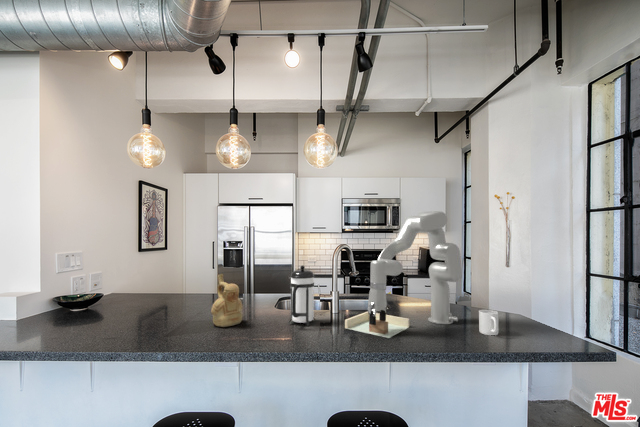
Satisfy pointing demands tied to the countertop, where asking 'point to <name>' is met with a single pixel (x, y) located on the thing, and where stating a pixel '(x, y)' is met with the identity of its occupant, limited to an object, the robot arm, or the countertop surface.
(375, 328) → the copper block
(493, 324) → the cup
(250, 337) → the countertop surface
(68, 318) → the countertop surface
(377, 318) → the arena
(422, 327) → the countertop surface
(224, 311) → the ceramic vessel
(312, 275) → the coffee press
